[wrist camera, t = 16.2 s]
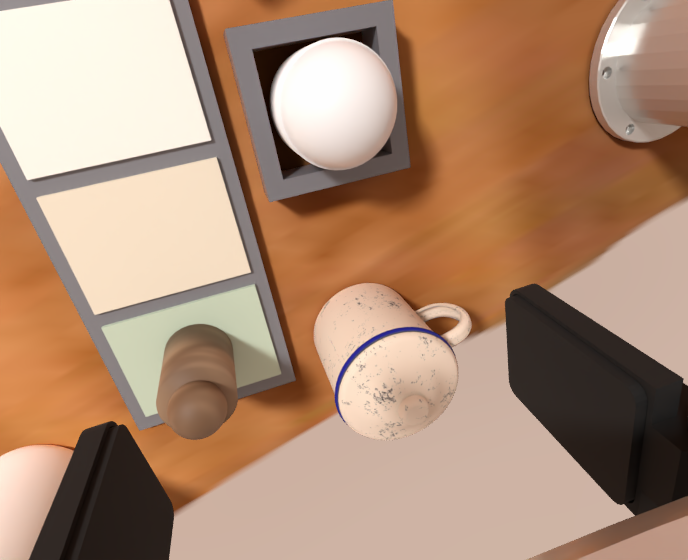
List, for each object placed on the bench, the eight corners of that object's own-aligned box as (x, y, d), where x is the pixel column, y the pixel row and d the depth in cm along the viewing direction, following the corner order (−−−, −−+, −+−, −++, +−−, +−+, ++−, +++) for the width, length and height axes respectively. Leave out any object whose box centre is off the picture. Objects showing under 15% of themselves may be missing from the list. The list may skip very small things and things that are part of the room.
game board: (176, -40, 25) (175, -46, 24) (294, 375, 38) (296, 382, 37) (-78, -4, 23) (-91, -8, 22) (140, 423, 36) (138, 433, 35)
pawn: (222, 316, 33) (228, 382, 25) (240, 369, 35) (249, 445, 27) (154, 334, 32) (138, 409, 24) (176, 388, 34) (167, 472, 26)
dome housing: (375, 7, 29) (392, -1, 26) (394, 161, 33) (410, 167, 30) (223, 34, 27) (224, 28, 24) (264, 192, 31) (269, 202, 29)
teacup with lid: (335, 387, 40) (379, 491, 30) (291, 311, 36) (324, 402, 25) (450, 325, 41) (531, 405, 30) (419, 243, 36) (502, 304, 26)
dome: (366, 34, 27) (411, 19, 21) (381, 148, 31) (424, 163, 24) (256, 55, 26) (270, 45, 20) (283, 171, 29) (303, 193, 23)
